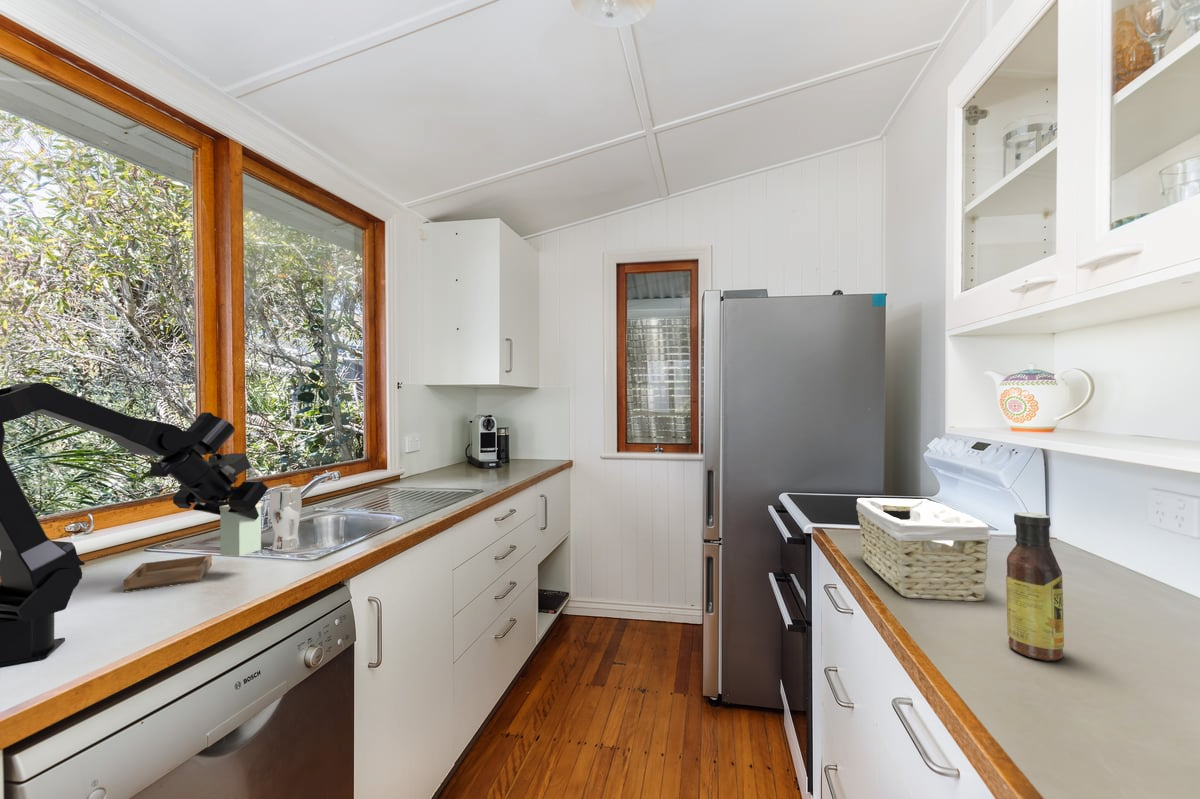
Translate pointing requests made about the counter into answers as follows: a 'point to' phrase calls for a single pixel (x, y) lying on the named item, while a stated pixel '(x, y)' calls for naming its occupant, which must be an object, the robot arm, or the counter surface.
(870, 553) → the storage basket
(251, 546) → the tea tin
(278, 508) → the beer glass
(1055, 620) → the sauce bottle
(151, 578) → the tray
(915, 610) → the counter surface
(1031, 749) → the counter surface
